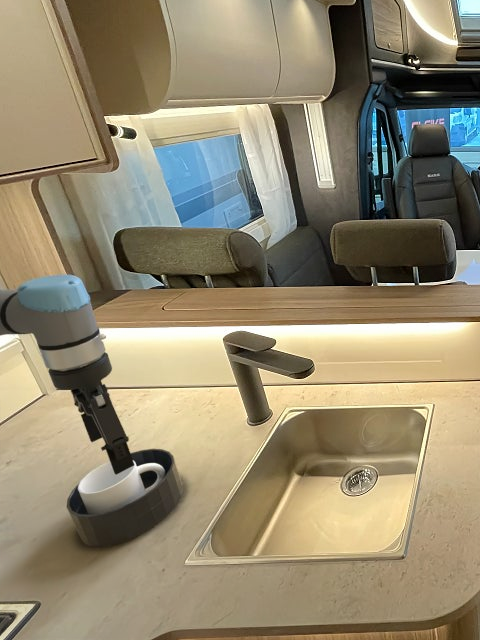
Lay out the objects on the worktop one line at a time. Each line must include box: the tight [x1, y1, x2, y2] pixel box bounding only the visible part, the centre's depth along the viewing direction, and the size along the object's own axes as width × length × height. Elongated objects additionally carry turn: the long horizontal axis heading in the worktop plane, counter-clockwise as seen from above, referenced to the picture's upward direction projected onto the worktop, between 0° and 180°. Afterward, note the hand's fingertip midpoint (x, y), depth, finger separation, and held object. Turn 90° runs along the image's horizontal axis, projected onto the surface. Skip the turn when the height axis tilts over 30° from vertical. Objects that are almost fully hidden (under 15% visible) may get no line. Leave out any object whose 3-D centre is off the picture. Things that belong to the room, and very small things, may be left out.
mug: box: [77, 461, 165, 515], centre depth 83 cm, size 12×8×10 cm
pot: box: [66, 448, 184, 548], centre depth 84 cm, size 16×16×8 cm
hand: (111, 452), depth 80 cm, fingers open, 13 cm apart
